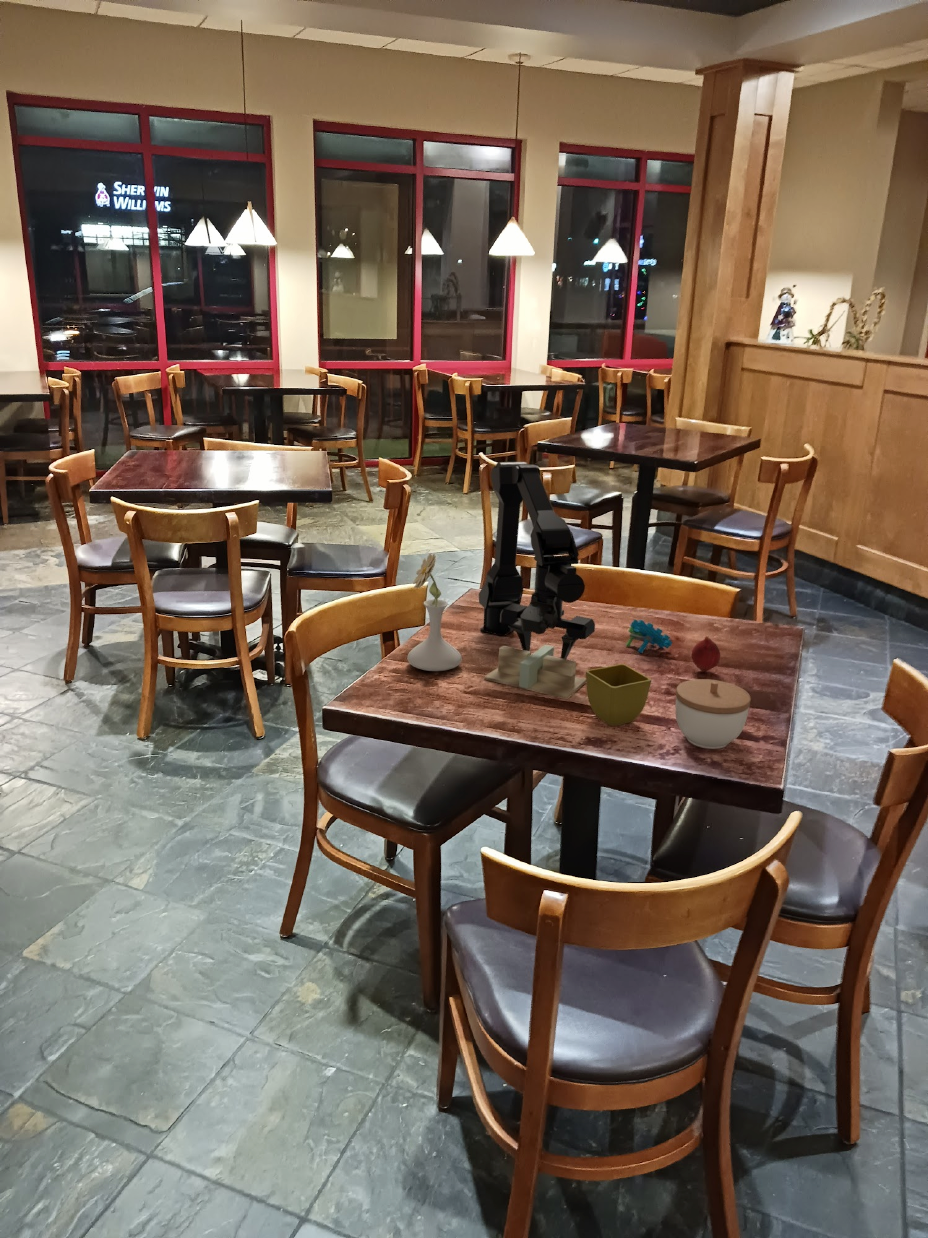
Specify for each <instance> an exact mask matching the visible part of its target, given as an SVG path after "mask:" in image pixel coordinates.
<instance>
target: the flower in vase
mask: <svg viewBox="0 0 928 1238" xmlns="http://www.w3.org/2000/svg"><path fill="white" fill-rule="evenodd" d="M436 561H437V560H436V554H435V553H433V554H432V553H431V552H429V554H428V556H427V557H426V558H425V557H424V558H423V560H422V564H421V565H420V569H417V571H416V572H415V573H416V574H415V575H417V576H416V577H415V579H414V580H413V581H412V583H413V585H414V587H413V588H414V589H420V588H421V587H423V586H424V584H425V583H426V582H427V581H428V579H429V578H431V580H432V584H431V585H430V587H429V593H430V595H431V596H432V597H433V598H432V599H428V600H425V601H423V606H425V608H426V609H427V613H428V618H429V633H428V636H427V637H426V638H425V639H424V640H423V641H422V642H420V643H419V644H417V645H416V646H415V647H413V648H412V649H411V650H410V651H409V652H408V654H407V657H406V658H407V661H408V663H409V664H410V665H411V666H412V667H414V668H416V669H419V670H423V671H428V672H443V671H448V670H451V669H455V668H457V667H458V666H460V664H461V662H462V661H463V658H462V656H461V655H462V654H461V653H460V652H459V650H457V648H455V647H454V646H453V645H451V644H450V643H449V642H448V641H446V640H445V639H444V638H443V636H442V632H441V629H442V627H441V625H442V619H443V614H444V611H445V609H446V607H448V605H449V602H447V600H443V599H439V598H440V597H441V596H442V591H440V590H441V589H439V587H438V586H437V583H436V580H435V578H434V577H433V574H432V572H433V570H434V567H435V565H436Z"/></svg>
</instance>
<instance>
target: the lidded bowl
mask: <svg viewBox="0 0 928 1238" xmlns="http://www.w3.org/2000/svg"><path fill="white" fill-rule="evenodd" d="M751 700H752V698H751V695H750V694H749V693H748V691H746V690H745V689H743V687H740V686H737V685H736V684H733V683H730V682H727V681H724V680H723V681H722V680H716V679H708V678H707V679H706V678H701V679H700V678H697V679H689V680H685V681H683V682H680V683H679V684H678V685H677V686H676V690H675V704H674V705H675V708H674V709H675V718H676V722H677V725H678V727H679V730H680V731H681V732H682V734H683V735H684V736H685V737H686V740H687V742H689V743H690V744H692V745H693V746H696V747H698V748H703V749H708V750H719V749H723V748H726V747H727V746H728V745H729V744H730V743H732V742H733V741H734V740H736V739H737V738H738V737H739V736H740V735H741V733H742V731H743V730H744V727H745V724H746V721H747V718H748V714H749V708H750V705H751Z"/></svg>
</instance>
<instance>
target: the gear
mask: <svg viewBox="0 0 928 1238" xmlns="http://www.w3.org/2000/svg"><path fill="white" fill-rule="evenodd" d="M629 625H630V627H629V628H628V630H627V632H628V633H630V634H629V637H630V638H629V639H628V641H627V643H626V644H625V646H626V647H630V645H631V644H632V642H633V641H634V640H636V641H641V642H642V644H641V645H640V647H639V649H638V650H637V652H638V653H640V654H643V652H644V650H646V648H647V646H648V644H650V645H652V646H656V645H657V647H658V648H660V649H663V648H665V649H667V650H668V649H669V647H671V646H672V644H673V641H672V640H671V639H670V636H669V635H668V634H666V633H665V634H664V635H662V633H663V630H662V629H661V628H659V627H656V629H655V628H654V625H653V623H650V622H647V623H646V622H645V621H644V620H643V619H639V620H636V619H633V621H632V622H631V623H630V624H629Z"/></svg>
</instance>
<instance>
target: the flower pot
mask: <svg viewBox="0 0 928 1238" xmlns="http://www.w3.org/2000/svg"><path fill="white" fill-rule="evenodd" d="M585 679H586V683H585V684H586V694H587V700H588V703H589V705H590V708H591V710H592V712H593V714H594V715H595V716H596V717H597V718H598V719H599V720H601V721H602V722H604V723H606V725H608V726H610V727H616V726H620V725H625V724H628V723H632V722H634V721H635V720H636V719H637V718H638V717H639V715H640V714H641V713H642V711H643V710H644V708H645V706H646V702H647V700H648V696H649V692H650V688H651V683H652V679H651V678H650V677H648V676H647V675H644V674H643V673H641V672H639V671H638V670H635V669H633V668H632V667H631V666H629V665H627V664H624V663H619V664H613V665H610V666H604V667H599V668H598V667H597V668H593V669H587V670H585Z"/></svg>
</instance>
